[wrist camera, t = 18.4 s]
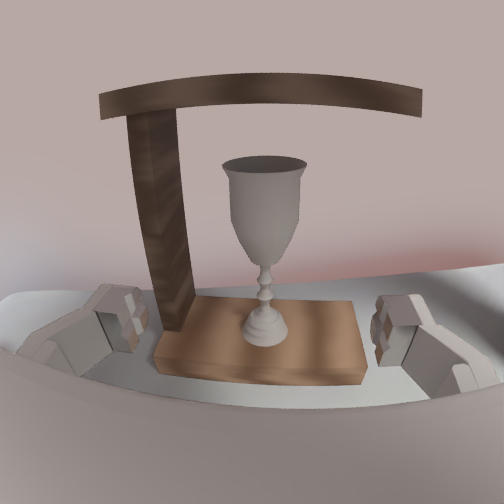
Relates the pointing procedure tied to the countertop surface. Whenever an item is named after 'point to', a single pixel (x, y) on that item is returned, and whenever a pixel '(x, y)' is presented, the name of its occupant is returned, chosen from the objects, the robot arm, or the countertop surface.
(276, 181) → the chalice
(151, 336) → the countertop surface
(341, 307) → the wooden c-shaped stand
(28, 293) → the countertop surface
